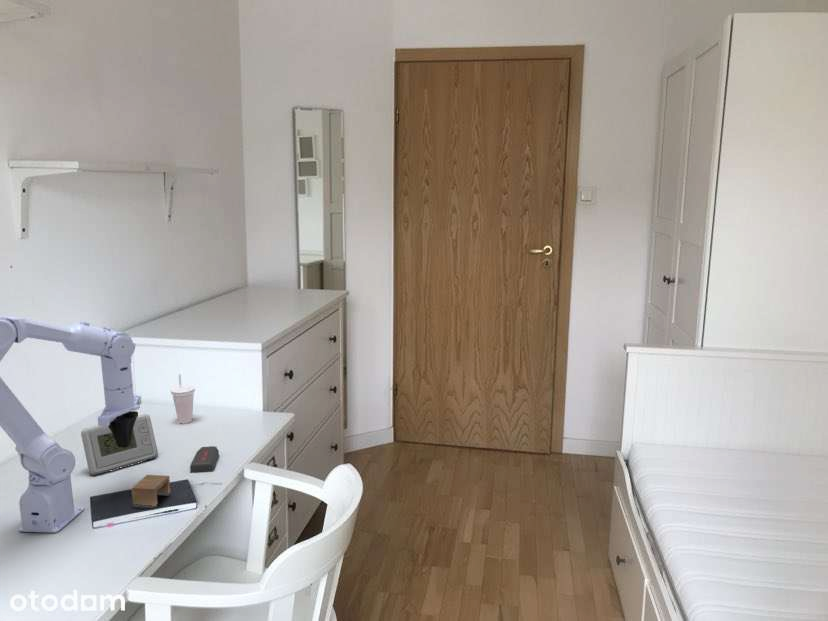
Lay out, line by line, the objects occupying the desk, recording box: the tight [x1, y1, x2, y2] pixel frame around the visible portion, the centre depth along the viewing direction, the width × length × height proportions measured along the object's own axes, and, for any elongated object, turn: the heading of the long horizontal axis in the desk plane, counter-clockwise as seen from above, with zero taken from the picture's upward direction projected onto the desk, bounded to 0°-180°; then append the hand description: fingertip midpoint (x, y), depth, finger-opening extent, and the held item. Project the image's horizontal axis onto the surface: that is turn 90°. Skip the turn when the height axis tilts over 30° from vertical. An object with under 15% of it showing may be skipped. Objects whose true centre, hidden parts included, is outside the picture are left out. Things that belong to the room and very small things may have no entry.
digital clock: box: [80, 413, 159, 476], centre depth 157 cm, size 16×9×11 cm, turn 122°
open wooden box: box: [131, 474, 171, 506], centre depth 139 cm, size 4×5×6 cm
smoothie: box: [170, 373, 196, 424], centre depth 185 cm, size 6×6×14 cm
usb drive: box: [189, 445, 220, 474], centre depth 159 cm, size 5×12×3 cm, turn 8°
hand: (124, 446), depth 143 cm, fingers closed
